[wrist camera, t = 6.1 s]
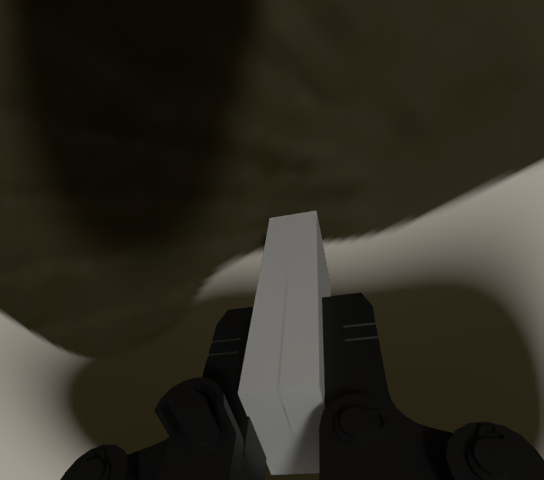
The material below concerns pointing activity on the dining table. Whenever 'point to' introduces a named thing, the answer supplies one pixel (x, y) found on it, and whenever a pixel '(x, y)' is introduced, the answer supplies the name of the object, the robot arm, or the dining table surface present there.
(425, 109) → the dining table surface
